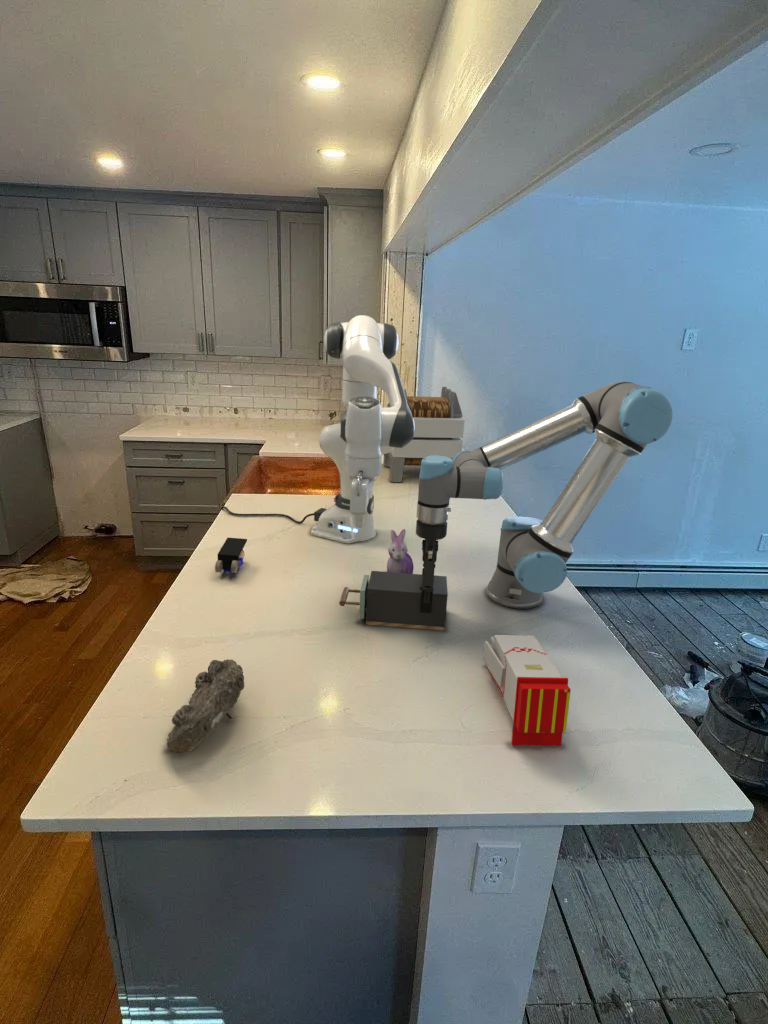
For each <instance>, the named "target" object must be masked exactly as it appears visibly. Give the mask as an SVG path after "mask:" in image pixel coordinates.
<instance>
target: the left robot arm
mask: <svg viewBox="0 0 768 1024" xmlns="http://www.w3.org/2000/svg"><path fill="white" fill-rule="evenodd" d="M323 345H324V348H325V350H326V354H327V355H328V356H329V357H330V358H333V359H337V360H340V359H342V363H343V367H342V383H341V385H342V386H341V401H342V404H343V406H344V407H345V410H344V411H343V412H342V413H341V414H340V416H339V420H340V421H339V422H338V423H334V424H329V425H325V426H324V427H323V428H322V429H321V431H320V434H319V437H318V442H319V443H318V444H319V447H320V449H321V451H322V452H323V454H325V455H326V456H327V457H328V458H330V459H331V460H332V462H333V463H334V464H335V466H336V467H337V470H338V473H339V483H340V484H339V485H340V488H339V489H340V490H339V491H338V492H337V494H336V495H335V496H334V497H333V502H334V504H333V505H331V506H329V507H328V508H324V507H321V508H318V509H316V511H314V512H313V513H309V514H307V515H305V516H304V517H303V518H302V520H299V521H297V520H296V519H294V517H291V516H290V515H288V514H284V513H237V512H236V513H235V512H232V511H231V510H230V509H228V507H226V506H225V505H224V506H221V508H220V510H221V511H222V510H226V512H227V513H228V514H230V515H232V516H237V517H284V518H288V519H289V520H290V521H292V522H294V523H296V524H298V525H299V524H303V523H304V522H305V520H306V519H307V518H309V517H312V516H313V521H315V522H317V523H315V524H314V525H313V526H312V528H311V530H310V533H311V536H315V537H319V538H323V539H326V540H330V541H336V542H339V543H343V544H352V543H357V542H365V541H368V540H372V539H373V538H375V537H376V535H377V532H376V528H375V523H374V513H373V512H374V509H375V496H374V482H375V481H376V477H379V476H381V473H382V455H384V454H386V453H390V452H391V451H392V450H393V448H394V447H397V448H402V447H404V446H405V445H407V444H408V443H409V442H410V441H411V440H412V439H413V436H414V431H415V424H414V419H413V417H412V413H411V411H410V409H409V406H408V404H407V400H406V397H405V393H404V390H405V389H404V385H403V384H402V383H403V382H402V380H401V376H400V373H399V370H398V368H397V367H398V366H397V365H396V364H395V363H394V362H392V361H391V359H392V358H393V357H395V356H396V353H397V352H398V349H399V345H400V339H399V334H398V332H397V328H396V327H395V325H394V324H391V323H386V322H384V323H379V322H377V321H376V320H375V319H374V318H373V317H371V316H369V315H365V314H362V315H361V314H359V315H355V316H354V317H352V318H351V319H350V320H349V321H344V322H341V321H335V322H331V323H329V325H328V326H327V327H326V330H325V333H324V336H323ZM378 389H380V390H382V391H383V392H385V394H386V395H387V400H388V403H390V407H387V406H386V407H385V406H383V407H382V404H381V402H380V400H379V399H378Z"/></svg>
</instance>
